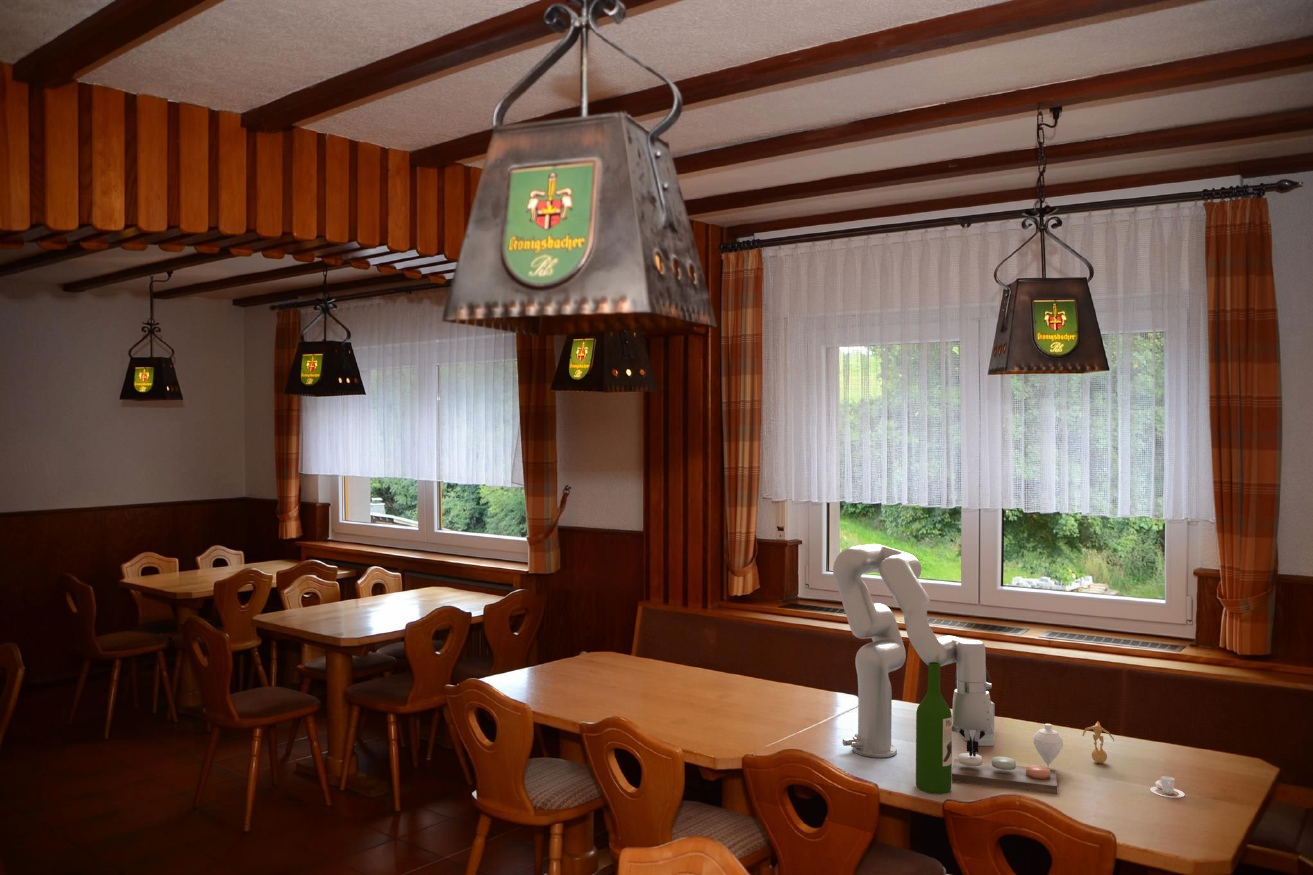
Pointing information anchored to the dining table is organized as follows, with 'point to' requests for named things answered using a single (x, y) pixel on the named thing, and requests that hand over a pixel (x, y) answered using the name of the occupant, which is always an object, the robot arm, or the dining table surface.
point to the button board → (1002, 777)
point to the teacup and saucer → (1166, 787)
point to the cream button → (970, 759)
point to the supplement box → (986, 739)
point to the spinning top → (1048, 743)
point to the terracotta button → (1037, 771)
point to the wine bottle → (933, 738)
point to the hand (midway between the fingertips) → (972, 754)
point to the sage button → (1003, 763)
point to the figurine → (1100, 754)
